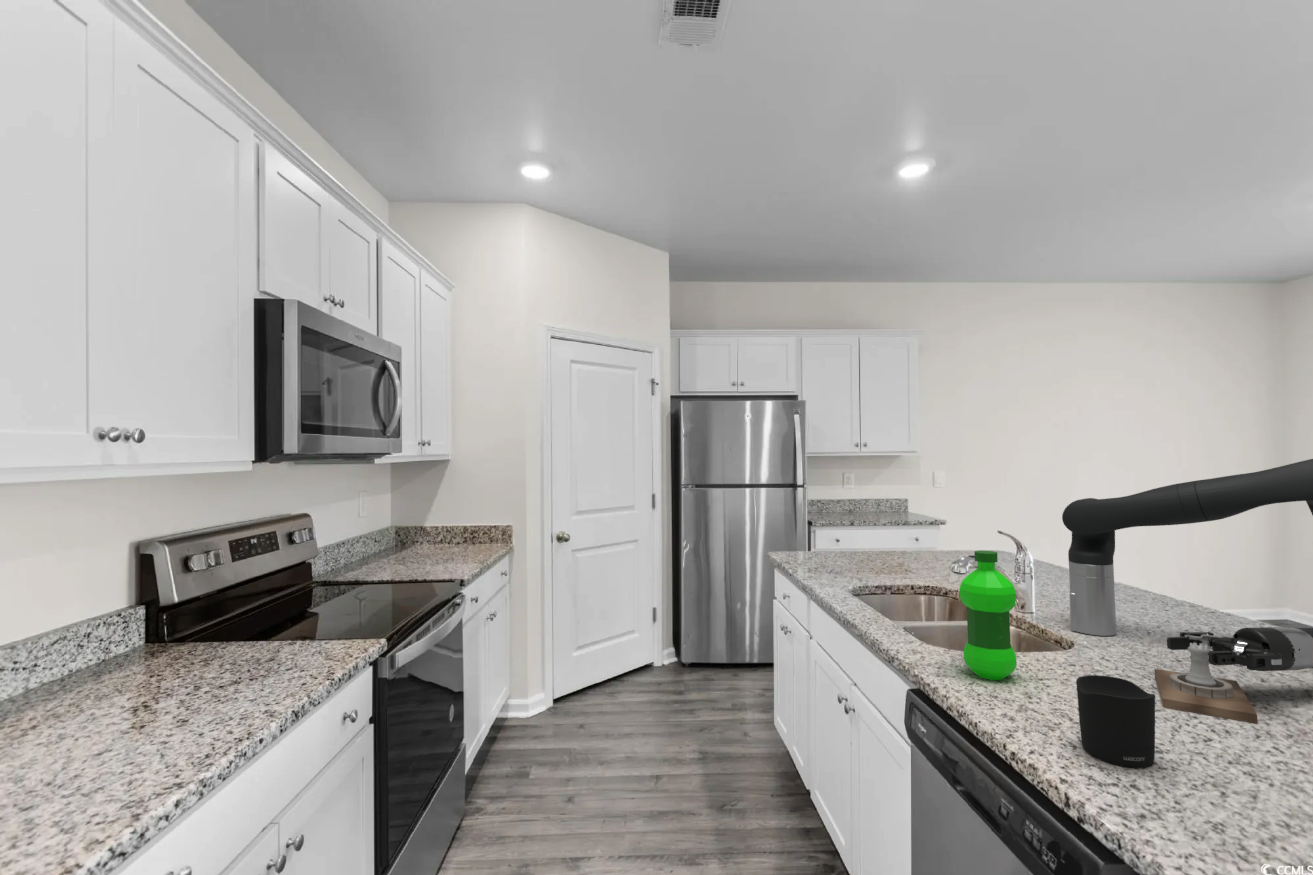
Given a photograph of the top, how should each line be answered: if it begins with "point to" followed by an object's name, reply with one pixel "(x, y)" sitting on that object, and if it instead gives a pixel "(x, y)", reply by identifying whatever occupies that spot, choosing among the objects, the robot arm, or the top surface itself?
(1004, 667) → the plastic bottle
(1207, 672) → the rook chess piece
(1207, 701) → the ring plate
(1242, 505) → the robot arm
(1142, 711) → the pen holder
